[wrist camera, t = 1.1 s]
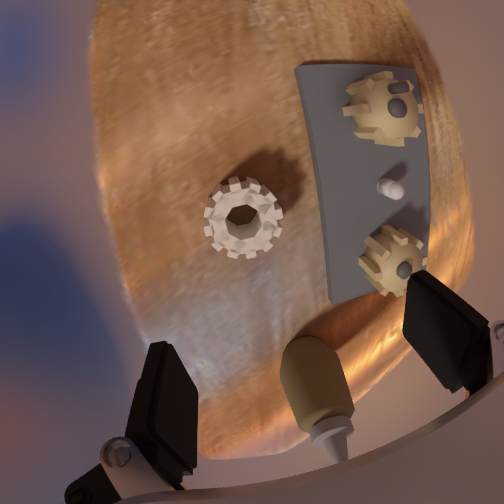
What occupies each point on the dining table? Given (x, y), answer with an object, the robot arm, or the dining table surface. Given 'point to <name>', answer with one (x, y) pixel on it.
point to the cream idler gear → (244, 235)
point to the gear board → (368, 174)
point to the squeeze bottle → (318, 394)
